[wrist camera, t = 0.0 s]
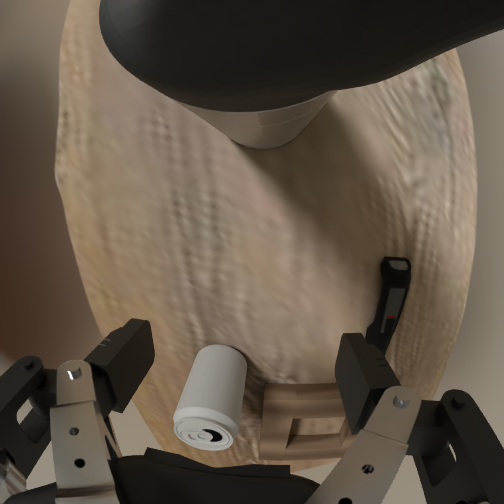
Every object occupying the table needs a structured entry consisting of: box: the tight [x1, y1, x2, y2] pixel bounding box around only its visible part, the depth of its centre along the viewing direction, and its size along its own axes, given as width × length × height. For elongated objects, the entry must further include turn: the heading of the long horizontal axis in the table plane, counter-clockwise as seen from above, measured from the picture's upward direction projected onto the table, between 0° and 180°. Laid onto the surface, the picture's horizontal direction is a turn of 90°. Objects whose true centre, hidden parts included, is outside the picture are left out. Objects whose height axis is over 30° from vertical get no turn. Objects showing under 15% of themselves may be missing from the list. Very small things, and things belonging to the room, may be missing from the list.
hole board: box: [259, 383, 358, 460], centre depth 33 cm, size 17×17×3 cm
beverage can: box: [173, 344, 247, 451], centre depth 26 cm, size 6×6×12 cm
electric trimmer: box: [365, 257, 411, 356], centre depth 28 cm, size 4×16×3 cm, turn 178°
